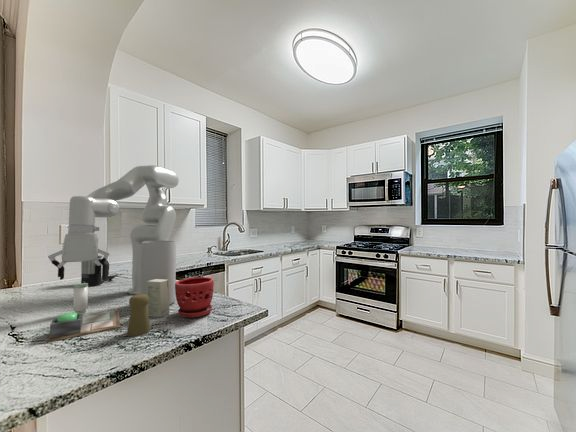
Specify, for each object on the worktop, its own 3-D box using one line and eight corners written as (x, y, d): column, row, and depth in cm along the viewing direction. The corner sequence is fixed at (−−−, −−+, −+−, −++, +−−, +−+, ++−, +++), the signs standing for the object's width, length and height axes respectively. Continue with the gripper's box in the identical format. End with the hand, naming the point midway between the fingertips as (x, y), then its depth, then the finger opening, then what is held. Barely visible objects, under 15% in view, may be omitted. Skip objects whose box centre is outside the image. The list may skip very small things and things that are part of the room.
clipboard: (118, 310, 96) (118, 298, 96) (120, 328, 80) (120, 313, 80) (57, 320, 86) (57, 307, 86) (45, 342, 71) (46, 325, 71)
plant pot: (212, 306, 102) (212, 275, 102) (214, 317, 89) (214, 282, 89) (176, 309, 97) (176, 277, 98) (172, 322, 85) (173, 285, 85)
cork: (133, 328, 80) (133, 292, 80) (153, 327, 81) (154, 291, 81) (122, 336, 74) (123, 298, 74) (144, 336, 75) (145, 297, 75)
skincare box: (169, 313, 93) (170, 279, 93) (160, 317, 89) (160, 282, 89) (156, 311, 95) (156, 278, 95) (146, 315, 91) (146, 280, 91)
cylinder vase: (132, 306, 101) (134, 242, 101) (157, 298, 113) (158, 240, 113) (158, 310, 97) (159, 243, 98) (181, 300, 109) (182, 240, 110)
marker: (87, 310, 97) (88, 282, 97) (87, 313, 93) (87, 284, 94) (73, 312, 94) (74, 284, 95) (72, 315, 91) (73, 286, 91)
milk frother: (75, 287, 132) (76, 257, 132) (92, 280, 147) (93, 254, 148) (107, 285, 135) (107, 257, 135) (120, 279, 150) (120, 253, 150)
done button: (77, 319, 79) (77, 311, 79) (76, 324, 76) (76, 315, 76) (58, 322, 77) (58, 314, 77) (56, 327, 73) (56, 318, 73)
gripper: (110, 230, 103) (108, 274, 102) (51, 230, 93) (49, 278, 92) (110, 230, 96) (108, 276, 95) (47, 230, 87) (44, 282, 86)
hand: (79, 277), depth 94 cm, fingers open, 9 cm apart
